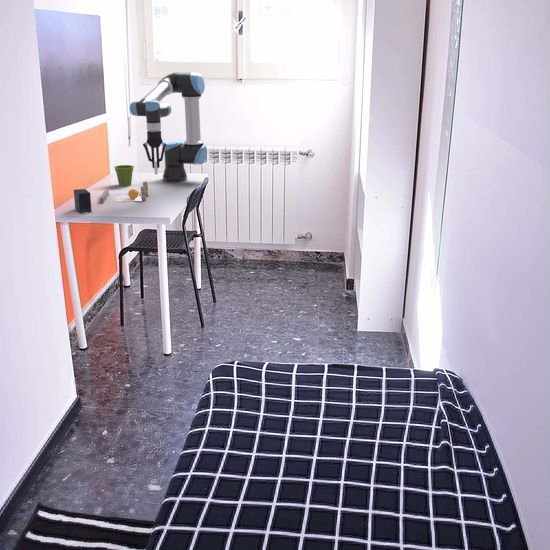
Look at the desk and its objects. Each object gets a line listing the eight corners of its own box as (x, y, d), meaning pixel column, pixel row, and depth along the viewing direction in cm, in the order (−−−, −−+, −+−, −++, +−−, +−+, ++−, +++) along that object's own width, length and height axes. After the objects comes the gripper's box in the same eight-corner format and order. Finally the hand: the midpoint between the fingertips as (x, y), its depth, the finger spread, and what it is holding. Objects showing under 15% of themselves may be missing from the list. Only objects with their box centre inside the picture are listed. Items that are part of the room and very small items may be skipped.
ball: (127, 194, 372) (132, 186, 370) (136, 199, 373) (140, 191, 371) (125, 196, 366) (130, 188, 365) (134, 201, 368) (139, 193, 366)
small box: (92, 212, 342) (90, 192, 338) (79, 213, 339) (77, 193, 335) (87, 207, 351) (85, 188, 347) (74, 209, 348) (72, 189, 344)
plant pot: (137, 186, 399) (135, 167, 395) (117, 187, 395) (115, 169, 391) (133, 182, 409) (132, 164, 405) (113, 183, 405) (112, 165, 401)
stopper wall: (105, 194, 378) (105, 189, 377) (109, 194, 378) (108, 189, 377) (100, 203, 359) (99, 197, 358) (103, 203, 359) (103, 197, 358)
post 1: (144, 195, 377) (143, 181, 375) (148, 195, 378) (147, 181, 375) (143, 196, 375) (142, 182, 372) (147, 196, 375) (147, 182, 373)
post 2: (141, 200, 366) (140, 186, 363) (146, 200, 366) (145, 186, 363) (141, 201, 364) (140, 187, 361) (145, 201, 364) (145, 187, 361)
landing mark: (119, 195, 376) (119, 195, 376) (144, 195, 377) (144, 195, 377) (115, 201, 363) (115, 201, 363) (141, 201, 364) (141, 201, 364)
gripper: (141, 131, 354) (143, 175, 362) (165, 131, 355) (167, 175, 363) (142, 129, 361) (145, 172, 369) (166, 129, 362) (168, 172, 370)
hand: (156, 173), depth 366 cm, fingers closed
